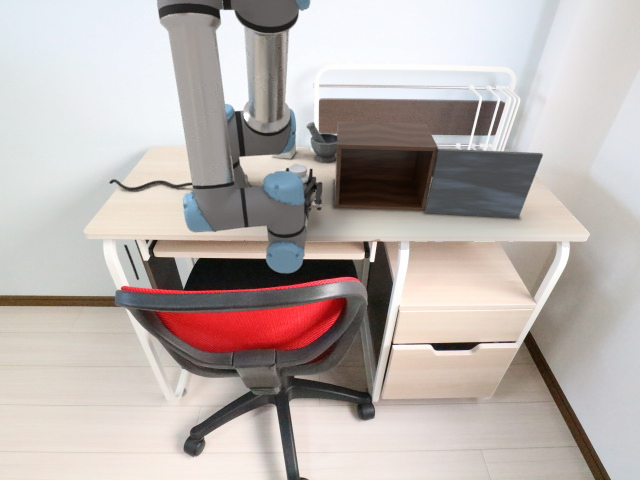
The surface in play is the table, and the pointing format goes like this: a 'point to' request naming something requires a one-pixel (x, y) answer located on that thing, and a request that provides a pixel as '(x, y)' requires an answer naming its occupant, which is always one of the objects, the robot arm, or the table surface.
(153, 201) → the table surface
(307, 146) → the table surface
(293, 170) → the pill bottle
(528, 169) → the cabinet door
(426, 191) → the cabinet
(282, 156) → the product box
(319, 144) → the mortar and pestle
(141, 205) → the table surface
